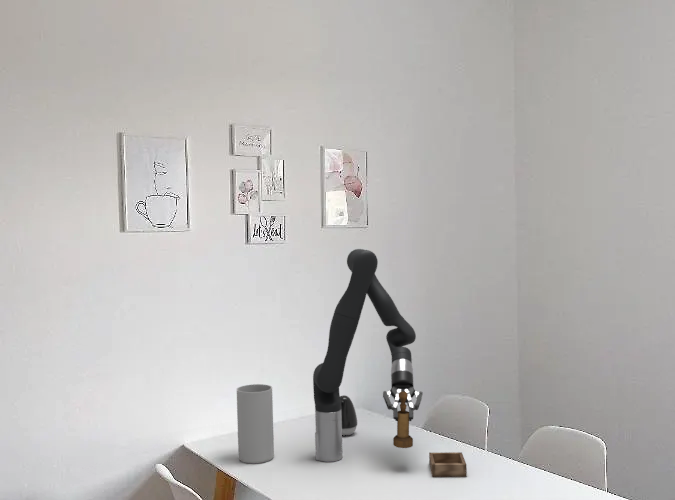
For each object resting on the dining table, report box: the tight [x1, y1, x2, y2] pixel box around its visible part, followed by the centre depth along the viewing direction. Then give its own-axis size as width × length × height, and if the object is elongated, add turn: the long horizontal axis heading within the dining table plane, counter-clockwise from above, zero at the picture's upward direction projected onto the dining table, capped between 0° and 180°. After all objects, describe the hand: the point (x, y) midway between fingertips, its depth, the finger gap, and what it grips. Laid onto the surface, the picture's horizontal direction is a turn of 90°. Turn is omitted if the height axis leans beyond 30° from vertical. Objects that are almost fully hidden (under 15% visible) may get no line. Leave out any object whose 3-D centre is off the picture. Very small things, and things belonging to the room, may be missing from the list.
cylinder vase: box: [236, 383, 275, 465], centre depth 243 cm, size 12×12×25 cm
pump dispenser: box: [340, 394, 358, 437], centre depth 270 cm, size 10×10×15 cm
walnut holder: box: [428, 451, 468, 478], centre depth 227 cm, size 11×12×4 cm
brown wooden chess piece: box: [392, 391, 414, 449], centre depth 228 cm, size 7×6×18 cm
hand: (403, 419), depth 226 cm, fingers closed on brown wooden chess piece, 4 cm apart
